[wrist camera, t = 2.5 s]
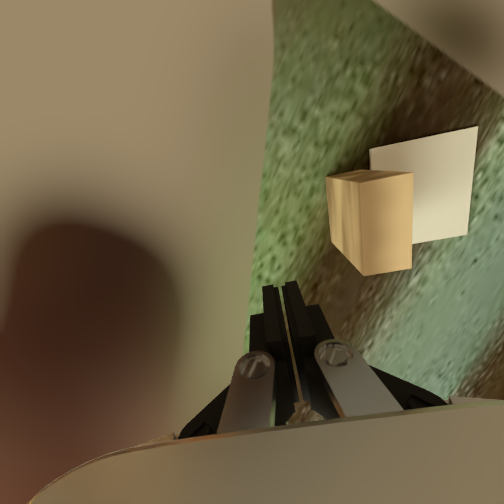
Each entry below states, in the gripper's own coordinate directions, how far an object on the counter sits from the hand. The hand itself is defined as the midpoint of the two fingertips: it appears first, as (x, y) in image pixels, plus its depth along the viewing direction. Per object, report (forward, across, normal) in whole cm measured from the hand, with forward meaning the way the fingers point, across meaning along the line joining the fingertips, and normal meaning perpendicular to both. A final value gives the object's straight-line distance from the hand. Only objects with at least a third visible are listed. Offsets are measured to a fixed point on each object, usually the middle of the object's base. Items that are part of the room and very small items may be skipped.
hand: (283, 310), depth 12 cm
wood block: (+19, -10, 0) cm, 21 cm away
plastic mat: (+19, -18, 0) cm, 26 cm away
